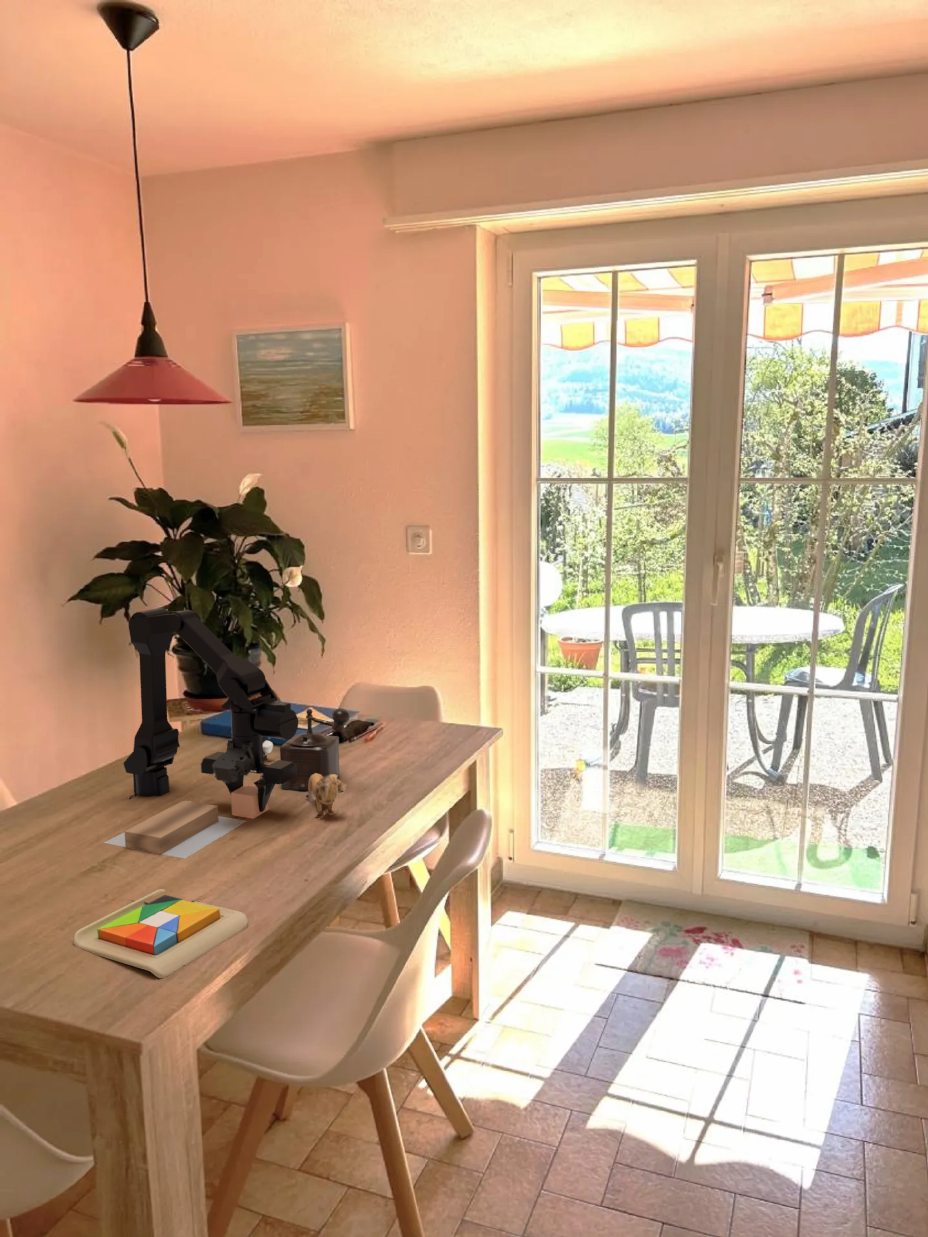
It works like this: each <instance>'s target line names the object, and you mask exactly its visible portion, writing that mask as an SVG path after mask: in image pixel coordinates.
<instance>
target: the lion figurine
mask: <svg viewBox="0 0 928 1237" xmlns="http://www.w3.org/2000/svg"><path fill="white" fill-rule="evenodd" d="M347 787H348V786H347V784H346V783H344V782H343V781H341V780H340V779H339V778H338V776H337V775H335V774H333V775H332V774H330V775H327V776H324V777H323V776H322V775H321V774H317V773H315V774H313V775H311V777H310V779H309V783H308V791H307V795H305V797H306V798H308V803H312V802H313V795H314V797H315V801H316V802H315V804H316V811H317V813H318V814H317V816H316V818H317V819H323V818H324V812H323V805H327V814H328V815H329V816H334V815H335V813H336V812H335V811H334V810H333V805H334V802H335V800H336V799H338V798H339V794H340V795H343V794H344V793H345V790H346V788H347Z"/></svg>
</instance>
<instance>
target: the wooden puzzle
mask: <svg viewBox="0 0 928 1237" xmlns="http://www.w3.org/2000/svg"><path fill="white" fill-rule="evenodd" d="M164 892H166V889H163V888H162V889H161V888H160V889H159V888H158V889H156V890H155V891H153V892H151V893H149V894H147V895H145V896H143V897H141V898H139V899H137V900H135V901H132V902H131V903H129V904H127V905H124V906H123V907H121V908H118V909H117V910H115V911H113V912H111V913H109V914H107V915H105V916H103V917H101V918H99V919H98V920H96V921H93V922H92V923H90V924H88V925H85V926H84V927H81V928H80V929H77V930H76V932H75V933H74V936H73V944H74V946H75V947H76V948H79V949H80V950H81V949H82V950H84V951H86V952H88V953H91V954H93V955H96V956H99V957H101V958H106V959H109V960H112V961H115V962H119V963H123V964H125V965H128V966H133V967H135V968H139V969H142V970H145V971H148V972H151V974H153V975H154V976H155V977H156V978H159V979H164V978H167V977H168V975H169V976H170V974H171V975H172V974H174V973H175V972H174V971H176V970H177V971H179V970H180V969H182V968H183V965H185V966H187V965H189V964H190V963H192V962H194V961H195V960H197V959H199V958H200V957H202V956H203V955H205V954H207V953H208V952H210V951H211V949H212V950H213V949H215V948H216V947H218V946H220V945H221V944H223V943H224V942H226V941H227V940H229V939H231V938H233V937H234V936H236V935H237V934H238V935H239V933H241V932H242V931H244V930H246V929H247V928H248V925H249V919H248V916H247V915H246V914H245V913H243V912H241V911H239V910H234V909H231V908H230V909H229V908H225V907H221V906H217V905H212V904H208V903H205V902H200V901H195V900H191V901H190V900H189V901H188V900H184V899H183V898H180V897H176V896H171V895H169V894H168V895H166V894H163V895H162V896H160V897H158V898H156V899H154V900H151V901H150V902H147V901H148V900H150V899H152V898H154V897H155V896H158V895H160V894H162V893H164ZM214 947H215V948H214ZM204 953H205V954H204ZM201 955H202V956H201ZM199 956H200V957H199ZM196 958H197V959H196ZM193 960H194V961H193ZM191 961H192V962H191ZM189 962H190V963H189ZM188 963H189V964H188ZM186 964H187V965H186ZM181 967H182V968H181ZM178 969H179V970H178ZM177 971H176V972H177ZM166 976H167V977H166Z"/></svg>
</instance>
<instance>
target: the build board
mask: <svg viewBox="0 0 928 1237" xmlns="http://www.w3.org/2000/svg"><path fill="white" fill-rule="evenodd" d="M218 819H219V821H218V822H216V823H214V824H213V825H211V826H209V827H207V828H206V829H204V830H202V831H201V832H199V833H197V834H195V835H194V836H192V837H190V838H189V839H187V840H185V841H183V842H182V843H180V844H178V845H177V846H175V847H173V848H171V849H170V850H168V851H166V852H165V853H163V854H161V855H163V856H169V857H173V858H179V859H183V860H186V859H188V858H189V857H191V856H192V855H194V854H196V853H197V852H199V851H200V850H202V849H203V848H206V847H207V846H209V845H210V844H212V843H214V842H215V841H217V840H218V839H220V838H221V837H224V836H225V835H227V834H228V833H230V832H232V831H233V830H235V829H236V828H237V827H239V826H241V825H243V824H245V823H246V822H247V820H245V819H239V818H238V819H237V818H232V817H225V816H221V815H218ZM103 844H106V845H111V846H116V847H122V848H126V849H128V848H127V847H126V846H125V832H124V831H123V832H122V833H120V834H118V835H116V836H114V837H112V838H110V839H108V840H107V841H104V842H103ZM130 849H133V848H130ZM133 850H134V849H133ZM135 850H138V849H135ZM138 851H139V850H138ZM140 851H142V852H144V851H143V850H140ZM146 852H148V851H146ZM148 853H149V852H148ZM151 853H153V852H151ZM153 854H154V853H153ZM156 855H159V854H158V853H156Z"/></svg>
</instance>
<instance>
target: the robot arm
mask: <svg viewBox="0 0 928 1237" xmlns="http://www.w3.org/2000/svg"><path fill="white" fill-rule="evenodd" d="M128 631H129V638H130V642H131V645H133V647H134V648H135V650H136V651H137V653H138V657H139V676H140V678H139V680H140V681H139V682H140V704H141V705H140V706H141V707H140V708H141V722H140V725H139V727H138V729H137V731H136V732H135V735H134V740H133V750H132V752H131V753H130V755H129V756H128V757H127V758H126V759H125V760H124V762H123V766H124V770H125V772H126V773H127V774H132V777H133V780H132V781H133V794H132V795H130V796H128V799H129V800H132V799H134V798H135V797H138V796H140V797H154V796H155V797H162V796H164V795H166V794H168V793H170V778H169V774H168V769H167V766H170V765H172V764H174V760H175V756H176V754H177V753H178V748H180V747H181V745H180V741H179V734H180V732H179V729H178V728H173V726H172V725H171V723H170V722H169V721H168V719H169V718H168V701H167V700H168V696H167V669H166V668H167V666H166V664H167V662H166V652H167V650H168V649H169V646H170V644H171V643H172V640H173V636H174V633H176V634H177V635H178V636H179V637H180V638H181V639H182V640H183V641H184V642H185V643H186V645H188V646H189V648H191V649H192V650H193V651H194V652H195V653H196V654H197V655H198V657H199V658H201V660H203V662H205V664H206V665H208V667H209V668H210V669H212V671H213V672H214V673H215V676H216V680H217V684H218V686H219V688H220V689H221V691H222V692H223V693H224V694H225V696H226V697H227V700H226V701H225V702H224V703H223V704H222V705H221V707H220V708H221V709H223V710H228V711H230V725H231V738H230V739H228V740H227V743H226V747H227V748H226V751H224V752H223V751H216V752H214V753H211V754H210V755H207V756H205V757H203V758H202V760H201V762H200V773H202V774H206V775H208V774H209V775H214V778H215V779H216V780H217V781H221V782H223V783H224V784H225V786H226V787H227V790H228V792H229V795H231V793H232V792H233V791H235V790H237V789H239V788H241V787H242V786H244V777H245V776H248V775H249V773H250V774H251V773H253V774H257V775H260V777H259V778H260V779H257V781H254V782H253V784H254V786H257V788H258V806H259V811H260V812H262V811H264V809H265V807H266V804H267V802H268V803H269V799H270V797H271V795H272V792H273V790H274V788H275V785H282V784H283V783H285V782H287V781H288V780H290V779H292V778H293V777H295V776H297V767H296V765H295V764H294V763H293V762H289V761H282V760H280V759H278V760H276V761H274V762H272V763H270V764H264V762H266V761H268V755H267V754H265V755H263V743H264V742H265V741H266V740H267V738H273V739H278V740H279V739H280V740H286V741H288V740H289V739H291V738H292V737H293V736H294V735H296V734H297V731H298V729H299V717H298V715H297V713H296V712H295V711H294V710H293V709H292V705H291V703H290V702H277V701H278V697H277V695H276V694H275V692H274V691H273V689H272V687H271V686H270V684H269V682H268V681H267V679H266V675H265V673H264V672H263V670H262V669H260V668H259V667H258V666H257V665H256V664H254V663H253V662H251V661H250V660H248V659H245V658H243V657H239V656H237V655H236V654H235V653H233V652H232V651H231V650H230V649H229V648H228V647H227V646H226V645H225V644H224V642H222V641H221V640H220V639H219V637H217V635H215V634H214V633H213V632H212V630H210V629H209V627H208V626H206V624H204V623H203V622H202V621H201V620H200V619H199V616H198V614H197V612H195V611H194V610H190V609H186V610H176V611H175V610H174V611H168V610H167V609H166V608H163V607H156V608H152V609H146V610H141V611H136V612H134V613H133V614H132V615H131V616H130V617H129V619H128ZM259 695H260V696H259ZM255 696H257V697H255ZM253 697H254V698H253ZM251 698H252V699H251Z"/></svg>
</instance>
